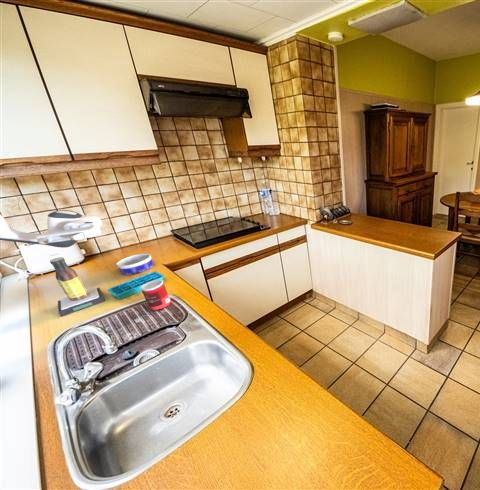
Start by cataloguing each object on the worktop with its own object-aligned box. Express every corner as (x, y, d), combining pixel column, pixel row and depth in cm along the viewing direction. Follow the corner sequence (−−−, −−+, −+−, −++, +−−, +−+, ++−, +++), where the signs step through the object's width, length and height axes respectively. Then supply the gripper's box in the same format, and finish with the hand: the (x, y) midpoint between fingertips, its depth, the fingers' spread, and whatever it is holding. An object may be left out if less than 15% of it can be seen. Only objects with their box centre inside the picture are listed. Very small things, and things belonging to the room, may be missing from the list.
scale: (61, 316, 112) (57, 311, 111) (60, 305, 121) (57, 299, 119) (105, 301, 122) (102, 295, 121) (101, 291, 130) (98, 286, 129)
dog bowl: (159, 266, 153) (155, 256, 151) (126, 278, 141) (121, 268, 139) (147, 260, 161) (143, 251, 158) (116, 271, 149) (111, 262, 147)
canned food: (168, 298, 121) (159, 277, 117) (174, 304, 117) (165, 283, 112) (148, 306, 116) (138, 285, 112) (153, 313, 111) (143, 291, 107)
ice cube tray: (109, 294, 127) (106, 289, 126) (157, 275, 142) (155, 270, 141) (118, 301, 121) (115, 296, 120) (167, 281, 136) (164, 276, 135)
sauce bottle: (74, 295, 122) (51, 257, 114) (91, 292, 124) (70, 254, 116) (66, 303, 116) (42, 263, 108) (85, 299, 119) (62, 260, 111)
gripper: (45, 228, 123) (22, 238, 111) (100, 221, 129) (84, 229, 117) (52, 240, 125) (30, 251, 113) (106, 233, 132) (90, 242, 120)
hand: (58, 240), depth 115 cm, fingers open, 8 cm apart
